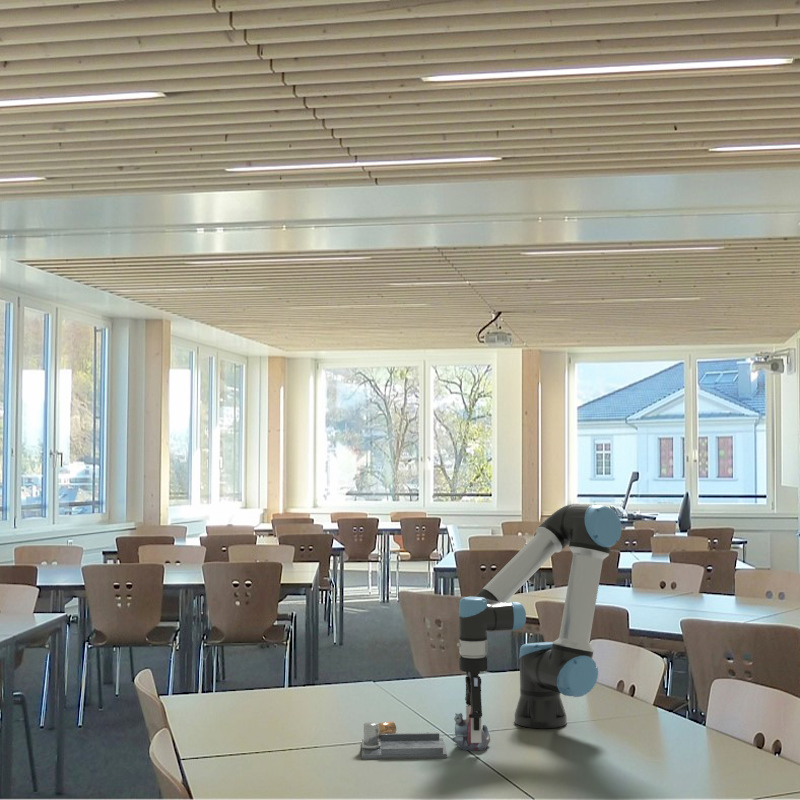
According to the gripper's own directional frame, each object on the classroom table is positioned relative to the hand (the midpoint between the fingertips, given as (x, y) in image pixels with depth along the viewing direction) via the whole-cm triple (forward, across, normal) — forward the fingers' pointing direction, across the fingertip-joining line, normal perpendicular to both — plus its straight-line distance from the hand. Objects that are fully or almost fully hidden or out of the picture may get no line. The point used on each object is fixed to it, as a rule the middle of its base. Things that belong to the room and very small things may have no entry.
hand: (473, 736), depth 289 cm
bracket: (+3, +2, -19) cm, 19 cm away
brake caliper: (+3, -1, -1) cm, 3 cm away
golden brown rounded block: (+3, -14, -24) cm, 28 cm away
